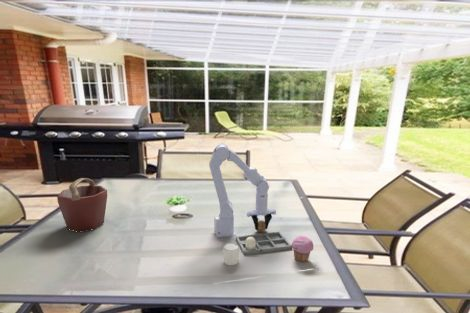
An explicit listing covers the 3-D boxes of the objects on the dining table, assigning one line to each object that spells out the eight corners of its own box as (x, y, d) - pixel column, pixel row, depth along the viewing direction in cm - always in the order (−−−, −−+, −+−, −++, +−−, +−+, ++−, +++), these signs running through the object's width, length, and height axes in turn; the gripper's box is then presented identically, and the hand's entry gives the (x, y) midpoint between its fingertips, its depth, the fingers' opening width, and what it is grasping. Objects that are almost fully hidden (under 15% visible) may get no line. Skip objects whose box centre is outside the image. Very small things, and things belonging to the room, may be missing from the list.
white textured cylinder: (230, 256, 132) (230, 241, 130) (242, 261, 127) (243, 246, 126) (219, 263, 126) (219, 247, 125) (232, 269, 122) (232, 252, 121)
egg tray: (244, 256, 132) (244, 251, 132) (235, 240, 146) (235, 236, 146) (291, 249, 137) (292, 245, 137) (279, 235, 151) (279, 231, 151)
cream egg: (247, 252, 134) (247, 240, 133) (244, 247, 138) (244, 235, 137) (256, 251, 135) (257, 239, 134) (253, 246, 139) (253, 234, 138)
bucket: (88, 237, 149) (83, 187, 144) (48, 233, 153) (42, 185, 148) (117, 218, 172) (113, 174, 167) (81, 215, 177) (77, 172, 172)
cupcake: (297, 252, 135) (298, 230, 133) (316, 258, 130) (317, 236, 128) (287, 260, 128) (288, 238, 126) (306, 267, 123) (307, 244, 121)
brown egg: (258, 233, 152) (258, 222, 151) (255, 230, 156) (255, 219, 155) (266, 232, 153) (266, 221, 152) (263, 229, 157) (264, 218, 156)
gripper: (249, 206, 146) (249, 233, 149) (278, 204, 150) (277, 230, 152) (245, 201, 153) (245, 227, 156) (273, 199, 156) (272, 224, 159)
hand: (261, 228), depth 154 cm, fingers closed on brown egg, 4 cm apart
